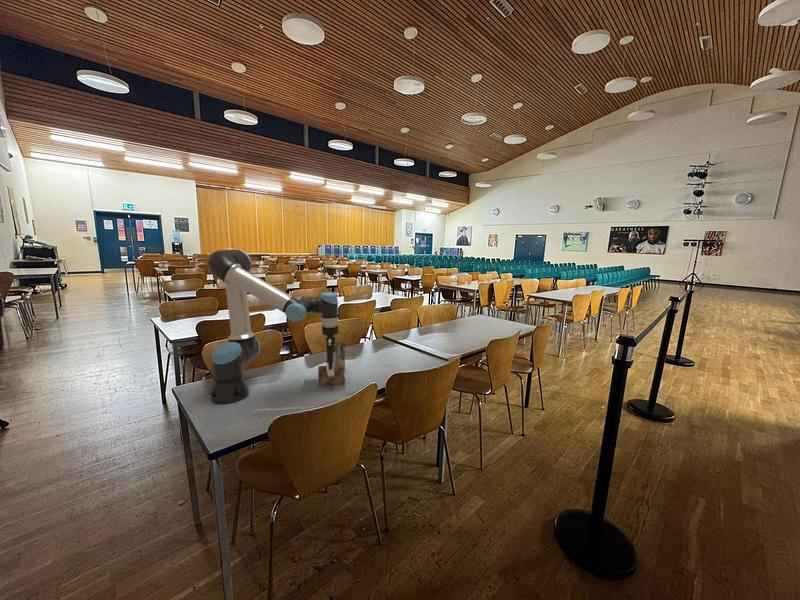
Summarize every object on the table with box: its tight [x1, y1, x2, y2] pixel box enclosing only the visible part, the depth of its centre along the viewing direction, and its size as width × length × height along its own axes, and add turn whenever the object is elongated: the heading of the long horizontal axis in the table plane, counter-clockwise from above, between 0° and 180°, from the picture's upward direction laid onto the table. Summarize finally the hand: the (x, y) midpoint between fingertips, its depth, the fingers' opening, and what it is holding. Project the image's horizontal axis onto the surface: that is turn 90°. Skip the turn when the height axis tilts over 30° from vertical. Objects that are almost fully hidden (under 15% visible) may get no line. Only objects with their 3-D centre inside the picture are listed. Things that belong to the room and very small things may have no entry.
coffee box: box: [326, 341, 346, 374], centre depth 174 cm, size 9×6×16 cm
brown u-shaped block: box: [317, 365, 346, 386], centre depth 160 cm, size 12×3×9 cm, turn 98°
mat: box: [300, 377, 347, 393], centre depth 160 cm, size 20×14×1 cm
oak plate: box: [326, 352, 336, 378], centre depth 159 cm, size 10×3×9 cm, turn 8°
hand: (331, 370), depth 159 cm, fingers closed on oak plate, 10 cm apart
